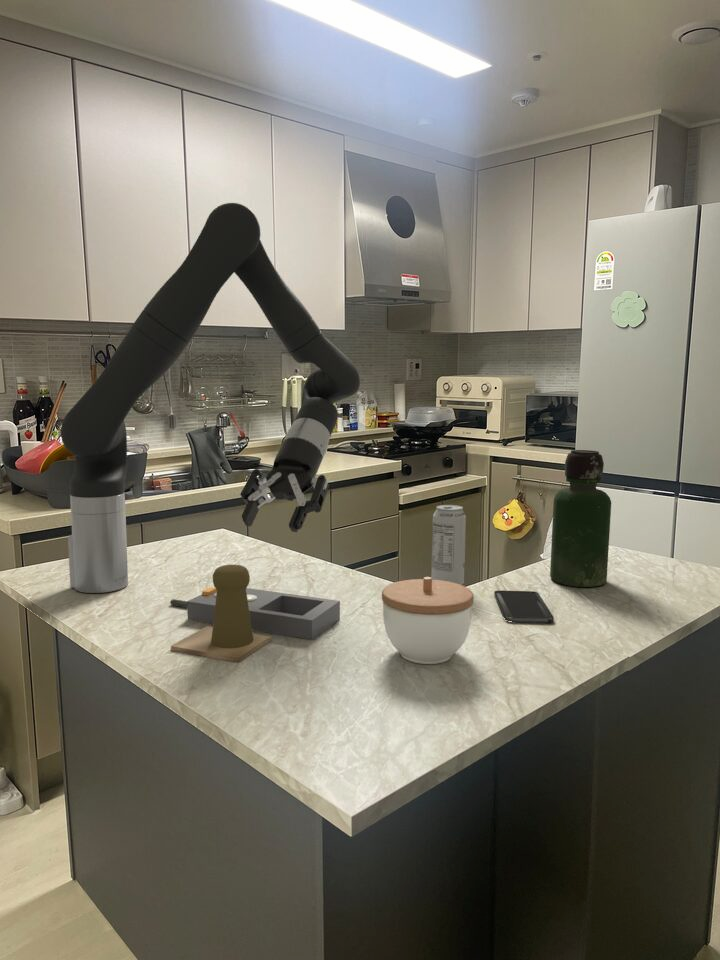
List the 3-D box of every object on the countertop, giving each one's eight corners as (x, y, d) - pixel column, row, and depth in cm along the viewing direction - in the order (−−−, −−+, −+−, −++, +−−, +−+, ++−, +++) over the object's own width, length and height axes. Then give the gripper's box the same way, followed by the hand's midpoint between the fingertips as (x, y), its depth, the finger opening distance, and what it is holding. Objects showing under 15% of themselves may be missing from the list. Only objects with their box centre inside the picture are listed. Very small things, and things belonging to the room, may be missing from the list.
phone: (505, 618, 113) (493, 590, 127) (505, 624, 113) (493, 596, 127) (555, 619, 112) (538, 591, 127) (555, 626, 112) (537, 597, 127)
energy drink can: (470, 587, 131) (473, 508, 129) (446, 593, 128) (448, 511, 126) (448, 580, 136) (450, 503, 134) (424, 585, 133) (426, 506, 130)
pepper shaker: (233, 651, 98) (232, 574, 96) (202, 642, 101) (200, 567, 100) (262, 638, 103) (261, 564, 101) (231, 630, 106) (229, 558, 105)
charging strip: (151, 613, 115) (151, 592, 115) (188, 596, 124) (188, 576, 124) (312, 639, 104) (312, 616, 104) (339, 618, 114) (339, 597, 113)
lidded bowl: (381, 637, 106) (382, 565, 104) (466, 638, 105) (468, 566, 104) (380, 671, 93) (382, 590, 92) (477, 673, 93) (479, 592, 91)
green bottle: (539, 579, 137) (545, 450, 133) (568, 570, 144) (575, 447, 140) (588, 592, 129) (595, 455, 126) (616, 581, 136) (624, 451, 133)
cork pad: (171, 649, 100) (170, 645, 100) (207, 629, 108) (207, 625, 108) (238, 662, 96) (238, 658, 96) (271, 640, 104) (271, 636, 104)
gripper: (259, 433, 123) (222, 508, 115) (334, 438, 118) (301, 517, 109) (274, 460, 129) (240, 534, 120) (346, 466, 124) (315, 544, 115)
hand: (269, 526), depth 115 cm, fingers open, 8 cm apart
